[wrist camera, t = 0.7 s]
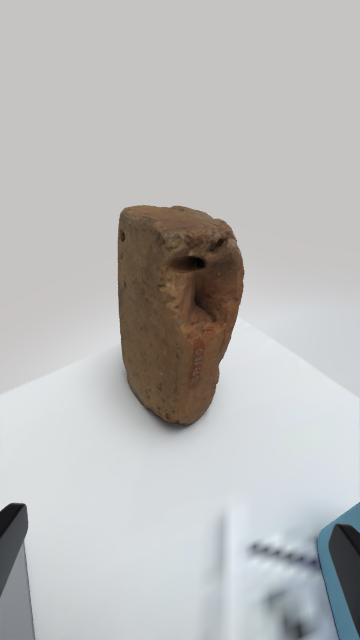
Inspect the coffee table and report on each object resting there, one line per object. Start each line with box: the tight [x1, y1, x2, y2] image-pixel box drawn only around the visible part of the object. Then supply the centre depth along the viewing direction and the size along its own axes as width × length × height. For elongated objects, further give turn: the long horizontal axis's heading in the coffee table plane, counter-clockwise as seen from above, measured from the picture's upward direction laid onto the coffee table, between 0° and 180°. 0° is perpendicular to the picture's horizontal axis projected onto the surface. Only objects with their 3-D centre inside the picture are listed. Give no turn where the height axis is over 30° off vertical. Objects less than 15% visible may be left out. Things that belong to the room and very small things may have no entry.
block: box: [118, 205, 244, 425], centre depth 24 cm, size 11×8×20 cm
